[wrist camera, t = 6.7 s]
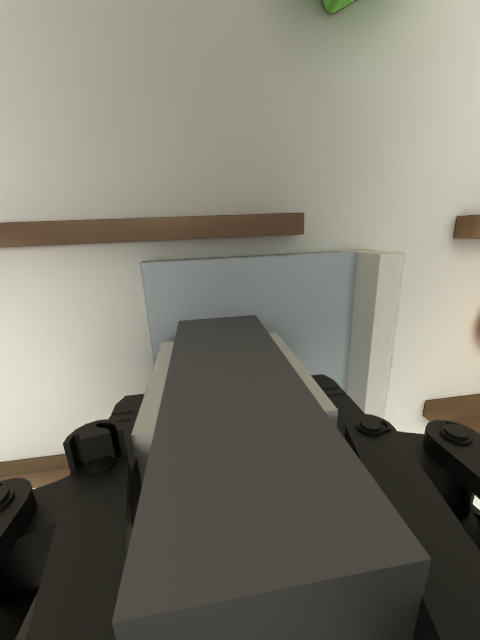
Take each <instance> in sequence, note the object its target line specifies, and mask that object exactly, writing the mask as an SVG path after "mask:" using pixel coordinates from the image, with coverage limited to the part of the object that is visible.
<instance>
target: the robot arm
mask: <svg viewBox="0 0 480 640" xmlns="http://www.w3.org/2000/svg"><path fill="white" fill-rule="evenodd" d="M269 334H270V336H271V337H272V339H273V340H274V341H275V343H276V344H277V346H278V347H279V348H280V350H281V351H282V352H283V354H284V355H285V357H286V358H287V359H288V361H289V362H290V364H291V365H292V366H293V368H294V369H295V371H296V372H297V373H298V375H299V376H300V377H301V379H302V380H303V382H304V383H305V384H306V386H307V387H308V389H309V390H310V391H311V393H312V394H313V395H314V397H315V398H316V400H317V401H318V402H319V404H320V405H321V407H322V408H323V409H324V411H325V412H326V413H327V415H328V416H329V418H330V419H331V420H332V422H333V423H334V425H335V426H336V427H337V429H338V430H339V432H340V433H341V434H342V436H343V437H344V438H345V440H346V441H347V443H348V444H349V445H350V447H351V448H352V450H353V451H354V452H355V454H356V455H357V456H358V458H359V459H360V461H361V462H362V463H363V465H364V466H365V468H366V469H367V470H368V472H369V473H370V474H371V476H372V477H373V479H374V480H375V481H376V483H377V484H378V486H379V487H380V488H381V490H382V491H383V493H384V494H385V495H386V497H387V498H388V499H389V501H390V502H391V504H392V505H393V506H394V508H395V509H396V511H397V512H398V513H399V515H400V516H401V517H402V519H403V520H404V522H405V523H406V524H407V526H408V527H409V529H410V530H411V531H412V533H413V534H414V535H415V537H416V538H417V540H418V541H419V542H420V544H421V545H422V547H423V548H424V549H425V551H426V552H427V554H428V555H429V556H430V558H431V563H430V568H429V572H428V577H427V581H426V586H425V591H424V595H423V597H422V598H421V603H420V607H419V612H418V616H417V621H416V626H415V630H414V635H413V639H412V640H480V510H479V509H477V508H476V507H475V506H474V505H473V504H472V503H473V500H474V496H475V495H476V496H477V497H478V498H479V499H480V434H479V433H478V432H476V431H474V430H473V429H471V428H469V427H467V426H465V425H462V424H459V423H457V422H454V421H448V420H434V421H431V422H428V424H427V426H426V429H425V434H416V433H406V432H399V431H396V429H395V428H394V427H393V426H392V425H391V424H390V423H389V422H388V421H386V420H384V419H382V418H381V417H378V416H375V415H371V414H365V413H364V412H363V411H362V410H361V409H360V408H359V406H358V405H357V404H356V403H355V402H354V401H353V400H352V399H351V398H350V397H349V396H348V395H346V392H345V391H344V390H343V389H342V388H340V386H339V385H338V384H337V383H336V382H335V381H334V380H333V379H331V378H330V377H328V376H326V375H324V374H318V375H310V374H309V373H308V371H307V370H306V369H305V368H304V366H303V365H302V364H301V363H300V361H299V360H298V359H297V358H296V356H295V355H294V354H293V353H292V351H291V350H290V349H289V348H288V346H287V345H286V344H285V343H284V341H283V340H282V339H281V338H280V336H279V335H278V334H277V332H276V333H269ZM173 345H174V341H170V342H162V344H161V347H160V350H159V353H158V356H157V359H156V362H155V365H154V368H153V371H152V374H151V377H150V380H149V383H148V386H147V389H146V392H145V394H139V395H130V396H125V397H124V398H123V399H122V400H120V401H119V402H118V403H117V404H116V405H115V407H114V410H113V412H112V414H111V416H110V418H109V420H108V419H106V420H98V421H94V422H91V423H88V424H85V425H83V426H82V427H80V428H78V429H76V430H75V431H74V432H72V433H71V434H70V435H69V436H68V437H67V438H66V440H65V441H64V443H63V446H64V450H65V453H66V457H67V461H68V465H69V468H70V475H69V476H67V477H65V478H63V479H60V480H58V481H55V482H52V483H50V484H47V485H44V486H41V487H39V488H36V489H32V486H31V483H30V481H28V480H27V479H25V478H11V479H7V480H2V481H0V640H116V637H115V633H114V630H113V626H112V620H113V615H114V611H115V606H116V602H117V597H118V593H119V588H120V584H121V579H122V574H123V570H124V565H125V561H126V556H127V552H128V547H129V543H130V538H131V534H132V529H133V525H134V520H135V516H136V511H137V507H138V502H139V498H140V493H141V489H142V484H143V480H144V475H145V471H146V466H147V462H148V457H149V453H150V448H151V444H152V439H153V435H154V430H155V426H156V421H157V417H158V412H159V408H160V403H161V399H162V394H163V390H164V385H165V381H166V376H167V372H168V367H169V363H170V358H171V354H172V349H173Z"/></svg>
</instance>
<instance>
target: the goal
mask: <svg viewBox="0 0 480 640" xmlns="http://www.w3.org/2000/svg"><path fill="white" fill-rule="evenodd" d="M454 238H468V239H480V215H469V216H457V220H456V226H455V232H454ZM423 416H424V417H425V418H426V419H428V420H429V421H430V422H431V421H434V420H448V421H454V422H457V423H459V424H462V425H465V426H467V427H469V428H471V429H473V430H474V431H476V432H478V433H479V434H480V394H476V395H468V396H460V397H452V398H444V399H436V400H428V401H425V407H424V413H423Z"/></svg>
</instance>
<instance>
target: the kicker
mask: <svg viewBox="0 0 480 640" xmlns="http://www.w3.org/2000/svg"><path fill="white" fill-rule="evenodd" d="M404 254H405V253H400V252H388V251H376V250H354V251H334V252H315V253H295V254H276V255H256V256H237V257H217V258H198V259H179V260H159V261H144V262H142V263H140V265H141V272H142V279H143V286H144V293H145V301H146V308H147V315H148V322H149V329H150V336H151V344H152V351H153V358H154V365H155V362H156V359H157V356H158V353H159V350H160V347H161V344H162V342H170V341H174V345H173V349H172V354H171V358H170V363H169V367H168V372H167V376H166V381H165V385H164V390H163V394H162V399H161V403H160V408H159V412H158V417H157V421H156V426H155V430H154V435H153V439H152V444H151V448H150V453H149V457H148V462H147V466H146V471H145V475H144V480H143V484H142V489H141V493H140V498H139V502H138V507H137V511H136V516H135V520H134V525H133V529H132V534H131V538H130V543H129V547H128V552H127V556H126V561H125V565H124V570H123V574H122V579H121V584H120V588H119V593H118V597H117V602H116V606H115V611H114V615H113V620H112V626H113V630H114V633H115V637H116V640H412V639H413V635H414V630H415V626H416V621H417V616H418V612H419V607H420V603H421V598H422V597H423V595H424V591H425V586H426V581H427V577H428V572H429V568H430V563H431V558H430V556H429V555H428V554H427V552H426V551H425V549H424V548H423V547H422V545H421V544H420V542H419V541H418V540H417V538H416V537H415V535H414V534H413V533H412V531H411V530H410V529H409V527H408V526H407V524H406V523H405V522H404V520H403V519H402V517H401V516H400V515H399V513H398V512H397V511H396V509H395V508H394V506H393V505H392V504H391V502H390V501H389V499H388V498H387V497H386V495H385V494H384V493H383V491H382V490H381V488H380V487H379V486H378V484H377V483H376V481H375V480H374V479H373V477H372V476H371V474H370V473H369V472H368V470H367V469H366V468H365V466H364V465H363V463H362V462H361V461H360V459H359V458H358V456H357V455H356V454H355V452H354V451H353V450H352V448H351V447H350V445H349V444H348V443H347V441H346V440H345V438H344V437H343V436H342V434H341V433H340V432H339V430H338V429H337V427H336V426H335V425H334V423H333V422H332V420H331V419H330V418H329V416H328V415H327V413H326V412H325V411H324V409H323V408H322V407H321V405H320V404H319V402H318V401H317V400H316V398H315V397H314V395H313V394H312V393H311V391H310V390H309V389H308V387H307V386H306V384H305V383H304V382H303V380H302V379H301V377H300V376H299V375H298V373H297V372H296V371H295V369H294V368H293V366H292V365H291V364H290V362H289V361H288V359H287V358H286V357H285V355H284V354H283V352H282V351H281V350H280V348H279V347H278V346H277V344H276V343H275V341H274V340H273V339H272V337H271V336H270V334H269V333H276V332H277V334H278V335H279V336H280V338H281V339H282V340H283V341H284V343H285V344H286V345H287V346H288V348H289V349H290V350H291V351H292V353H293V354H294V355H295V356H296V358H297V359H298V360H299V361H300V363H301V364H302V365H303V366H304V368H305V369H306V370H307V371H308V373H309V374H310V375H318V374H324V375H326V376H328V377H330V378H331V379H333V380H334V381H335V382H336V383H337V384H338V385H339V386H340V388H342V389H343V390H344V391H345V392H346V395H348V396H349V397H350V398H351V399H352V400H353V401H354V402H355V403H356V404H357V405H358V406H359V408H360V409H361V410H362V411H363V412H364V413H365V414H371V415H375V416H378V417H381V418H382V419H384V414H385V406H386V398H387V390H388V382H389V374H390V366H391V358H392V350H393V342H394V334H395V326H396V318H397V310H398V302H399V294H400V286H401V278H402V270H403V262H404Z"/></svg>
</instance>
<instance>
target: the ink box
mask: <svg viewBox="0 0 480 640" xmlns="http://www.w3.org/2000/svg"><path fill="white" fill-rule="evenodd" d="M354 1H355V0H323V3H324V6H325V9H326V11H327V12H329V13H335V12H336V11H338V10H340V9H342V8H344V7H345V6H347V5H349V4H350V3H352V2H354Z"/></svg>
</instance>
